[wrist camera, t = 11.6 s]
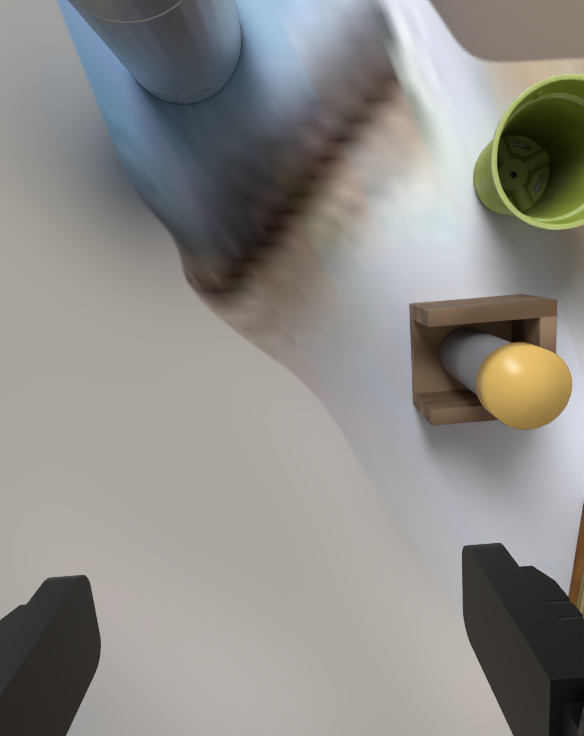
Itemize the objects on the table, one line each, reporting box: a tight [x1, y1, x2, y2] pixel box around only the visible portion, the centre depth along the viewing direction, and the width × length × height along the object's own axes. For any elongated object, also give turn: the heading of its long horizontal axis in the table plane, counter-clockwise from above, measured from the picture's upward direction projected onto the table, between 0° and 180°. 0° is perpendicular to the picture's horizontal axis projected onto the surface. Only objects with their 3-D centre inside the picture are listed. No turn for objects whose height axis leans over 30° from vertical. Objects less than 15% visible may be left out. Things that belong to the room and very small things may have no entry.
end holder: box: [409, 294, 557, 425], centre depth 41 cm, size 9×9×6 cm
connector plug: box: [439, 327, 572, 430], centre depth 37 cm, size 5×5×12 cm
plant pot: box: [473, 74, 584, 230], centre depth 37 cm, size 9×9×9 cm
